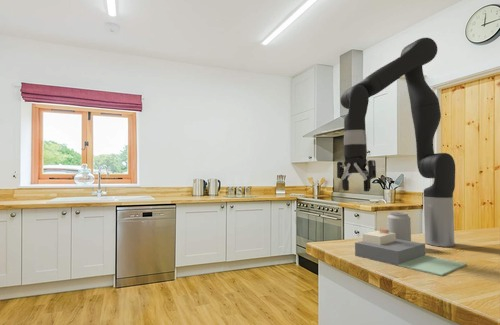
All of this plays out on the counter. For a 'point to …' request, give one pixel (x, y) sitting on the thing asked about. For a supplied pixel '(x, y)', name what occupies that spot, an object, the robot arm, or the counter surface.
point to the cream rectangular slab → (379, 237)
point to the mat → (432, 265)
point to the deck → (390, 251)
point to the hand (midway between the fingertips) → (356, 190)
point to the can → (399, 225)
